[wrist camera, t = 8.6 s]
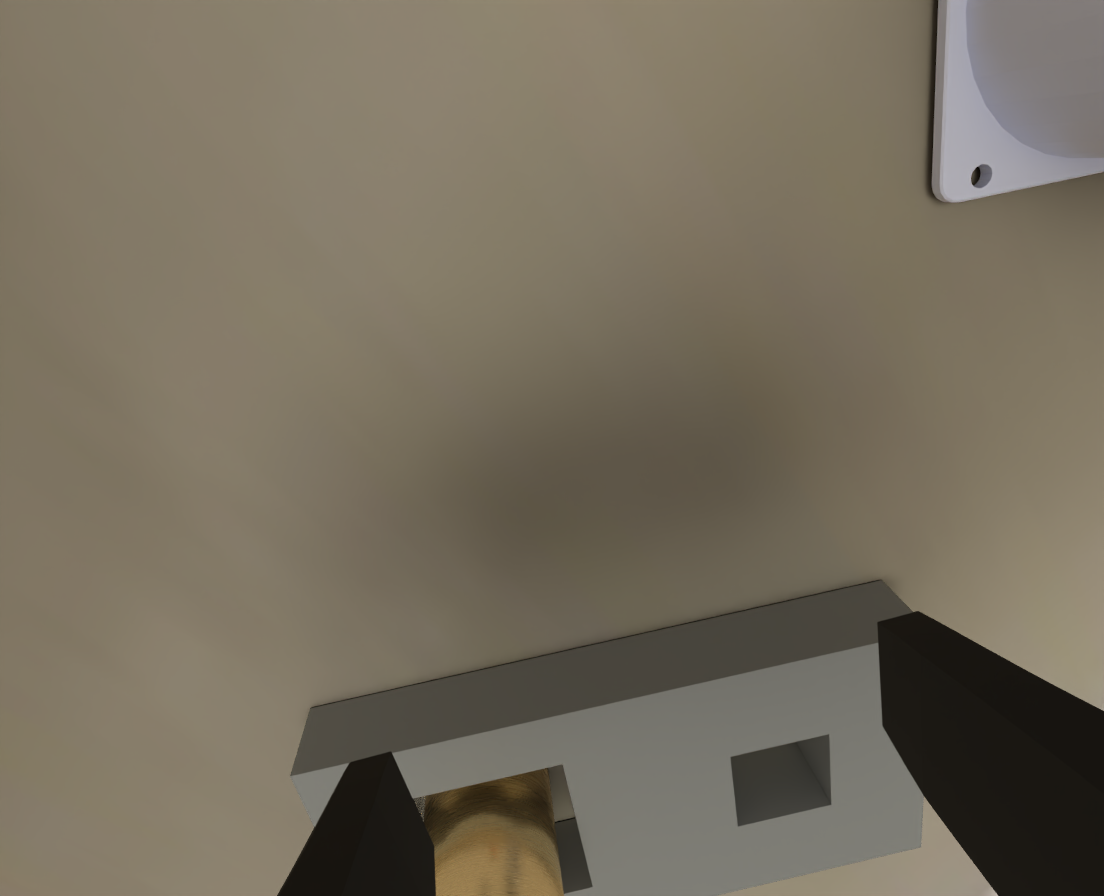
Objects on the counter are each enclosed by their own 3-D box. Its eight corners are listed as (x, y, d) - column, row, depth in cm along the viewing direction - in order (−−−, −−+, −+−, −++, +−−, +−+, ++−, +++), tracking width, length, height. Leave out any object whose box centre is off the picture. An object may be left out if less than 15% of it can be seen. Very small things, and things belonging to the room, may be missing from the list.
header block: (881, 580, 21) (931, 630, 19) (879, 783, 25) (921, 847, 22) (310, 708, 21) (290, 775, 18) (392, 897, 24) (383, 974, 22)
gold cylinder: (532, 717, 22) (554, 904, 16) (558, 803, 23) (586, 1000, 18) (411, 748, 22) (391, 946, 16) (446, 832, 23) (438, 1038, 18)
